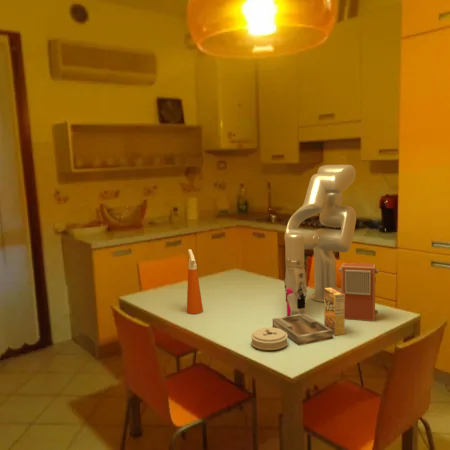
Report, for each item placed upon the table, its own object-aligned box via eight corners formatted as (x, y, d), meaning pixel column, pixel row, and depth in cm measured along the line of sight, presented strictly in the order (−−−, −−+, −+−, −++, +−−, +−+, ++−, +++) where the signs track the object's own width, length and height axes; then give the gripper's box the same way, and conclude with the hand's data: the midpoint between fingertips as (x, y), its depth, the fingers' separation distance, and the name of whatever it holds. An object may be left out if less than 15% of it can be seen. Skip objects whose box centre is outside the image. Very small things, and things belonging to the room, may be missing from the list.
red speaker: (339, 313, 193) (378, 316, 188) (337, 319, 187) (377, 322, 182) (339, 262, 190) (378, 263, 185) (337, 266, 183) (378, 268, 178)
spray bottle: (199, 305, 211) (196, 247, 207) (204, 313, 200) (201, 252, 196) (184, 307, 209) (180, 248, 205) (188, 315, 199) (184, 253, 195)
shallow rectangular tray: (304, 320, 187) (304, 313, 187) (333, 338, 169) (332, 330, 168) (272, 326, 182) (272, 318, 182) (298, 345, 164) (297, 337, 163)
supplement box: (305, 313, 195) (305, 286, 193) (299, 318, 190) (299, 290, 188) (292, 311, 198) (292, 285, 196) (286, 316, 193) (285, 288, 191)
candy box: (323, 327, 179) (323, 288, 177) (334, 325, 180) (333, 286, 178) (334, 335, 171) (334, 294, 168) (345, 334, 172) (345, 293, 169)
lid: (268, 335, 175) (267, 322, 174) (295, 344, 165) (294, 330, 165) (243, 345, 166) (243, 332, 165) (271, 356, 157) (270, 341, 156)
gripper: (314, 267, 183) (314, 309, 186) (292, 258, 199) (293, 298, 202) (297, 269, 181) (297, 312, 183) (276, 260, 197) (277, 300, 199)
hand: (295, 304), depth 193 cm, fingers open, 9 cm apart
